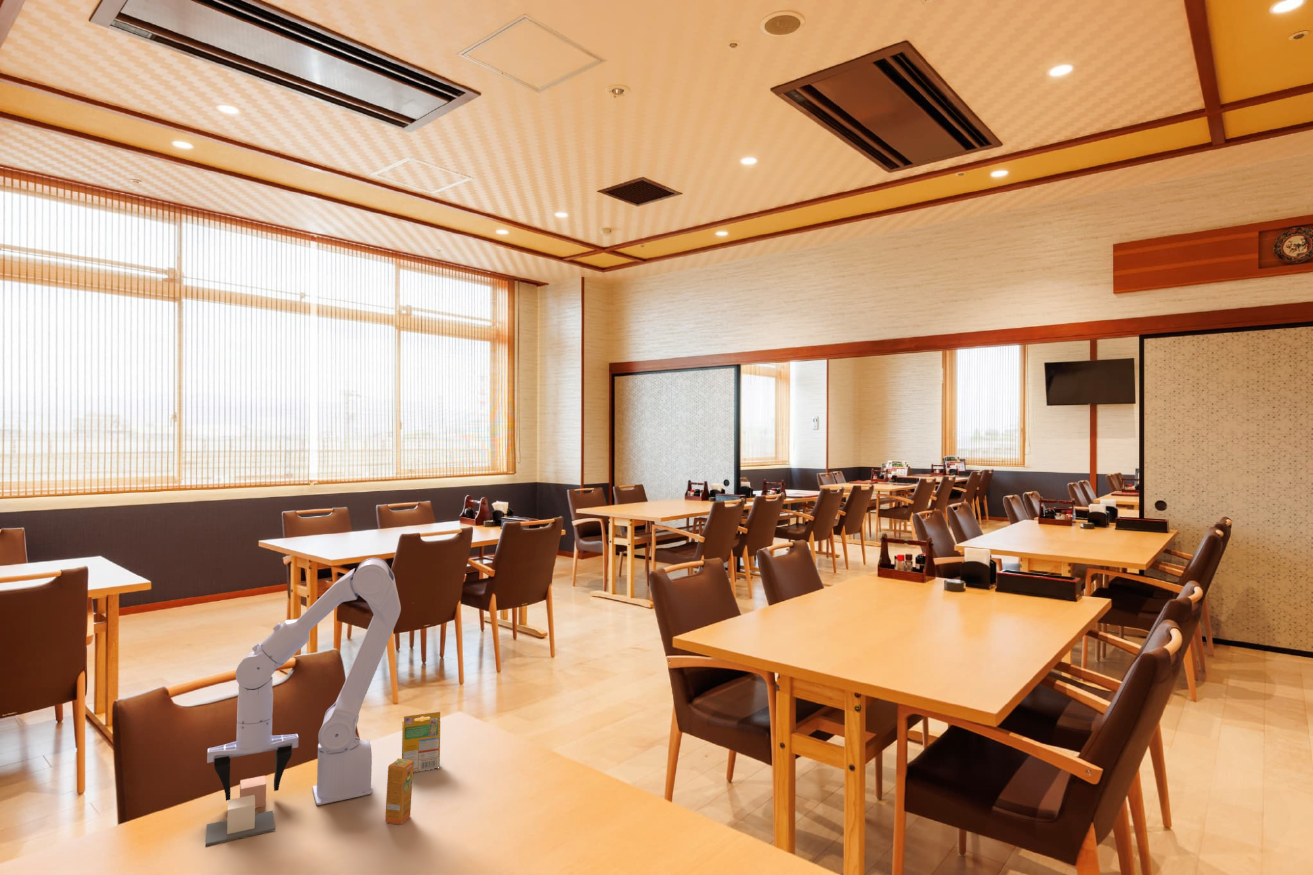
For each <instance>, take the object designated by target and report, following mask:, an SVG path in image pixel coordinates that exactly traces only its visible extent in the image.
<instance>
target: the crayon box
mask: <svg viewBox="0 0 1313 875" xmlns="http://www.w3.org/2000/svg"><path fill="white" fill-rule="evenodd" d="M421 717H424V718H421ZM420 718H421V719H420ZM401 726H402V728H401V732H402V733H401V734H402V735H401V759H407V760H411V761H413V762H414V763H413V772H414V773H418V772H417V771H420V772H425V770H426V771H430V770H429V769H432V770H435V769H434V768H438V767H440V768H441V711H436V712H429V713H428V712H427V713H420V714H413V715H406V716H403V721H402V725H401Z"/></svg>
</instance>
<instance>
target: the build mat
mask: <svg viewBox="0 0 1313 875" xmlns="http://www.w3.org/2000/svg"><path fill="white" fill-rule="evenodd" d="M227 820H228V819H226V820H221V821H216V822H213V823H207V824H206V830H205V831H206V832H205V847H208V846H212V845H216V844H221V843H225V842H230V841H234V840H239V839H243V838H247V837H253V836H256V835H261V834H266V833H269V832H270V833H271V832H275V830H276V828H275V818H274V811H273V810H269V811H264V812H259V813H255V828H253V829H249V830H244V831H240V832H235V833H230V834H227Z"/></svg>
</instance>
